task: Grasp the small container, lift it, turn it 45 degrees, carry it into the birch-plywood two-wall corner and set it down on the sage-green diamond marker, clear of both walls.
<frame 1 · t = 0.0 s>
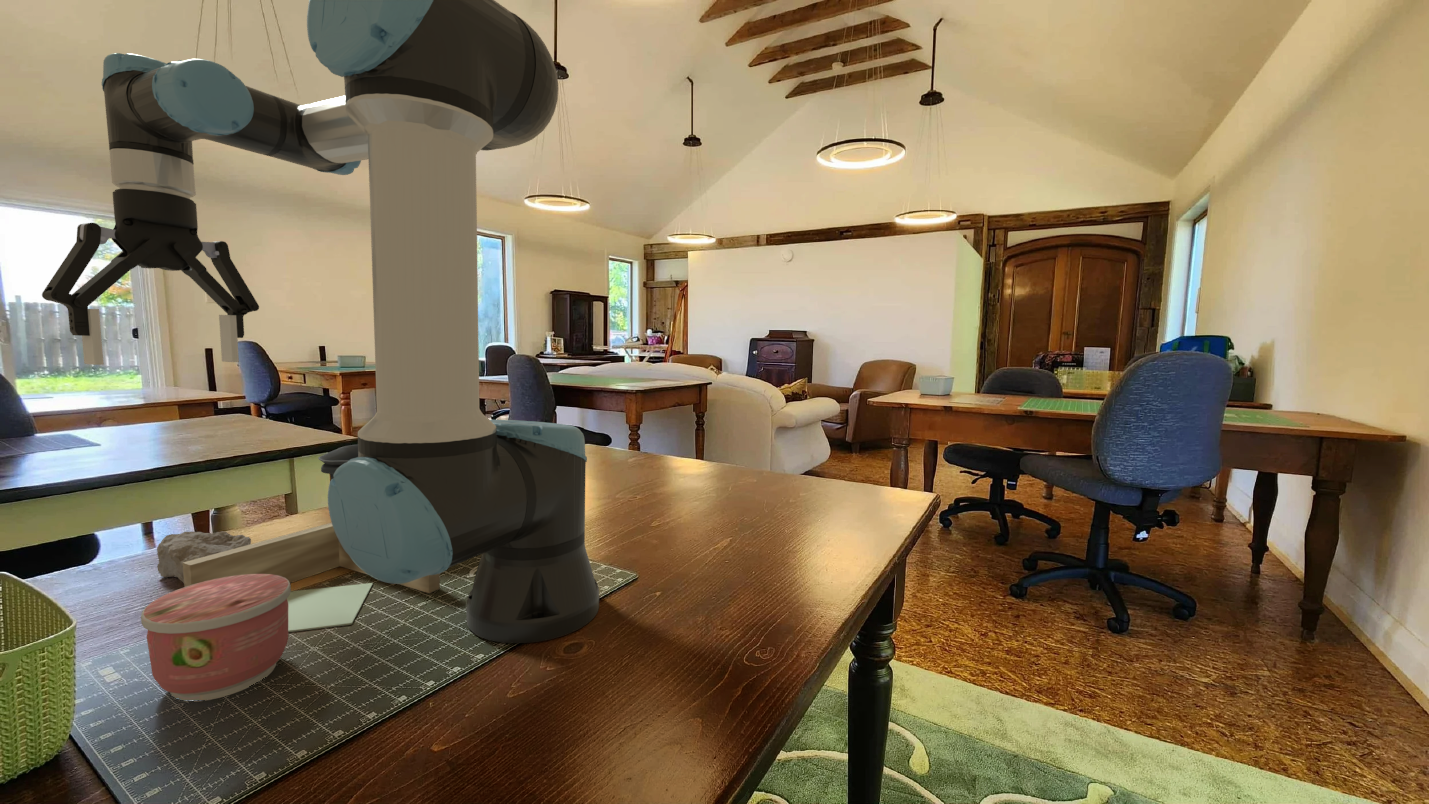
hand: (167, 363, 74), 28 cm above the table, fingers open, 13 cm apart
stone: (202, 578, 75), on the table
corner walls: (324, 601, 69), on the table
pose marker: (309, 608, 67), on the table
container: (225, 678, 54), on the table
storage bin: (408, 534, 93), on the table
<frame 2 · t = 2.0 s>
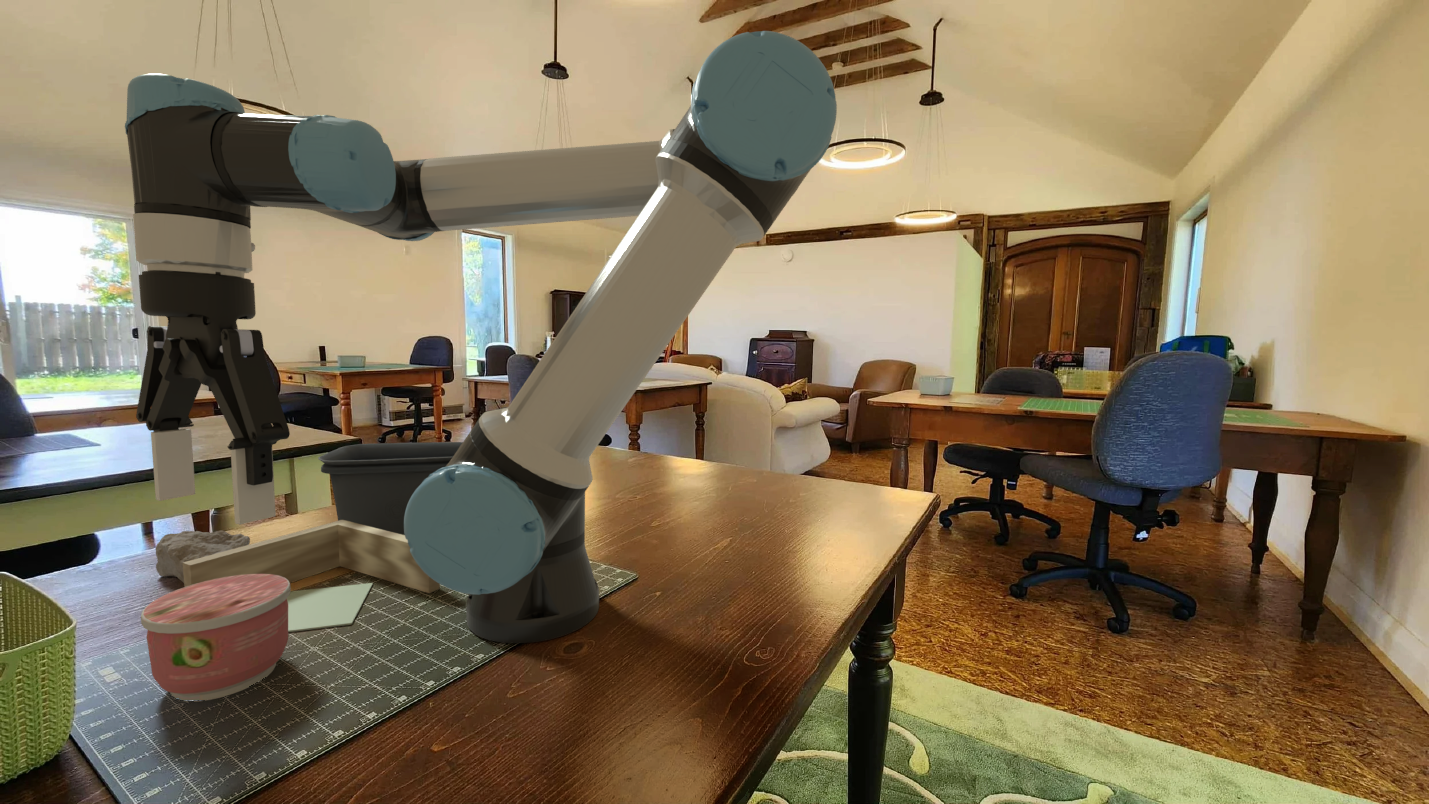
hand: (213, 508, 52), 16 cm above the table, fingers open, 13 cm apart
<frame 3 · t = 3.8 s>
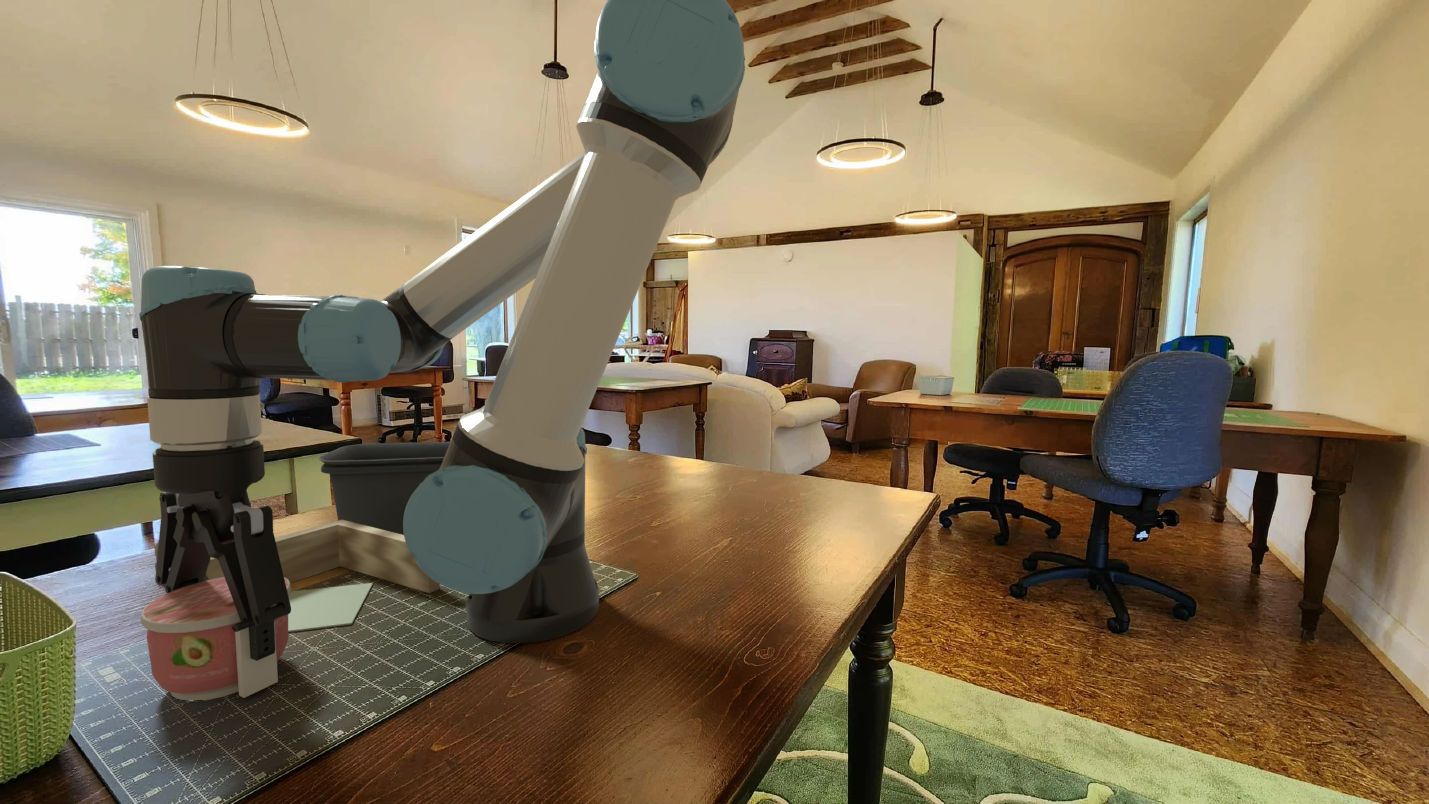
hand: (225, 671, 54), 0 cm above the table, fingers closed on container, 10 cm apart
container: (225, 677, 54), on the table, touching gripper
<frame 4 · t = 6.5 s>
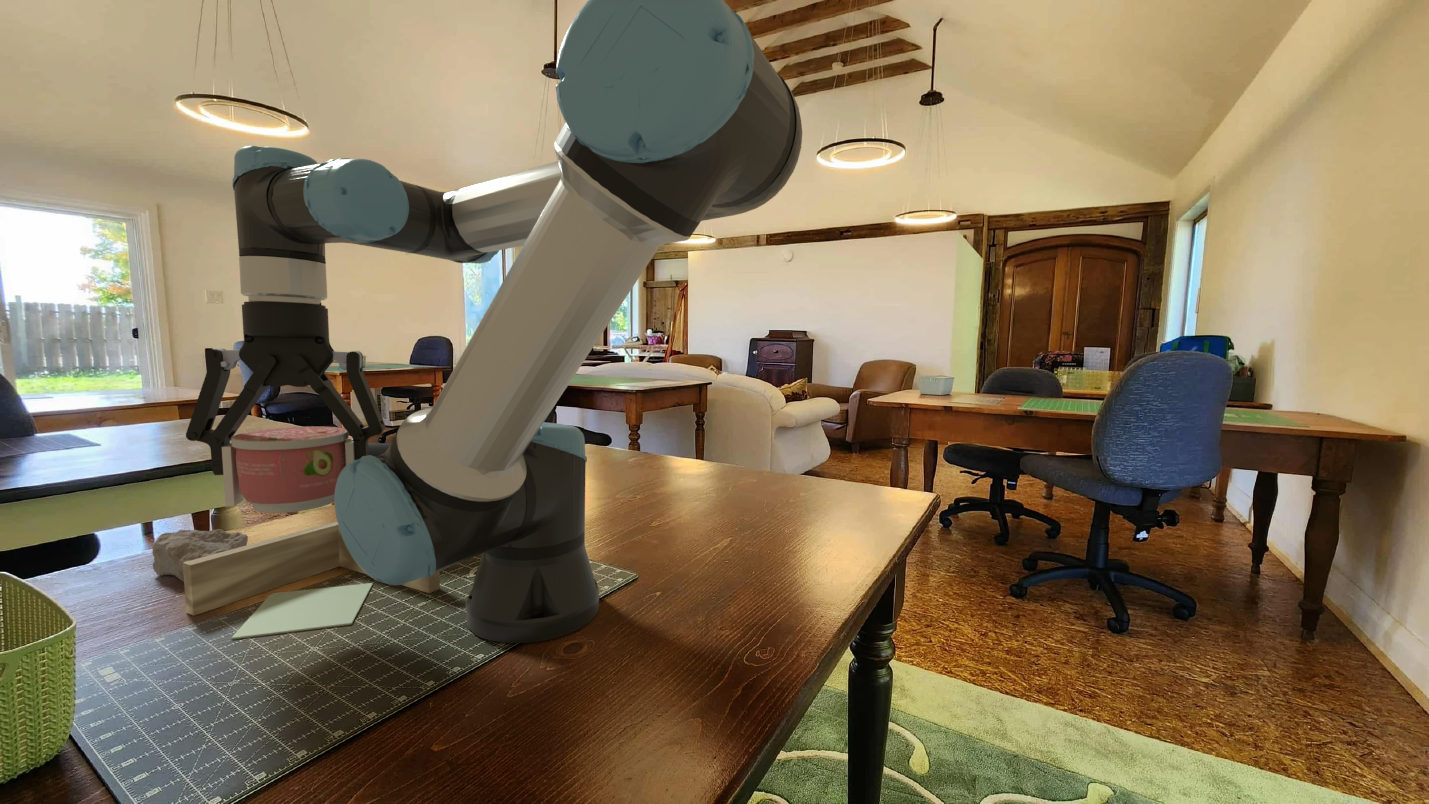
hand: (296, 499, 64), 14 cm above the table, fingers closed on container, 10 cm apart
container: (296, 504, 64), point 13 cm above the table, touching gripper
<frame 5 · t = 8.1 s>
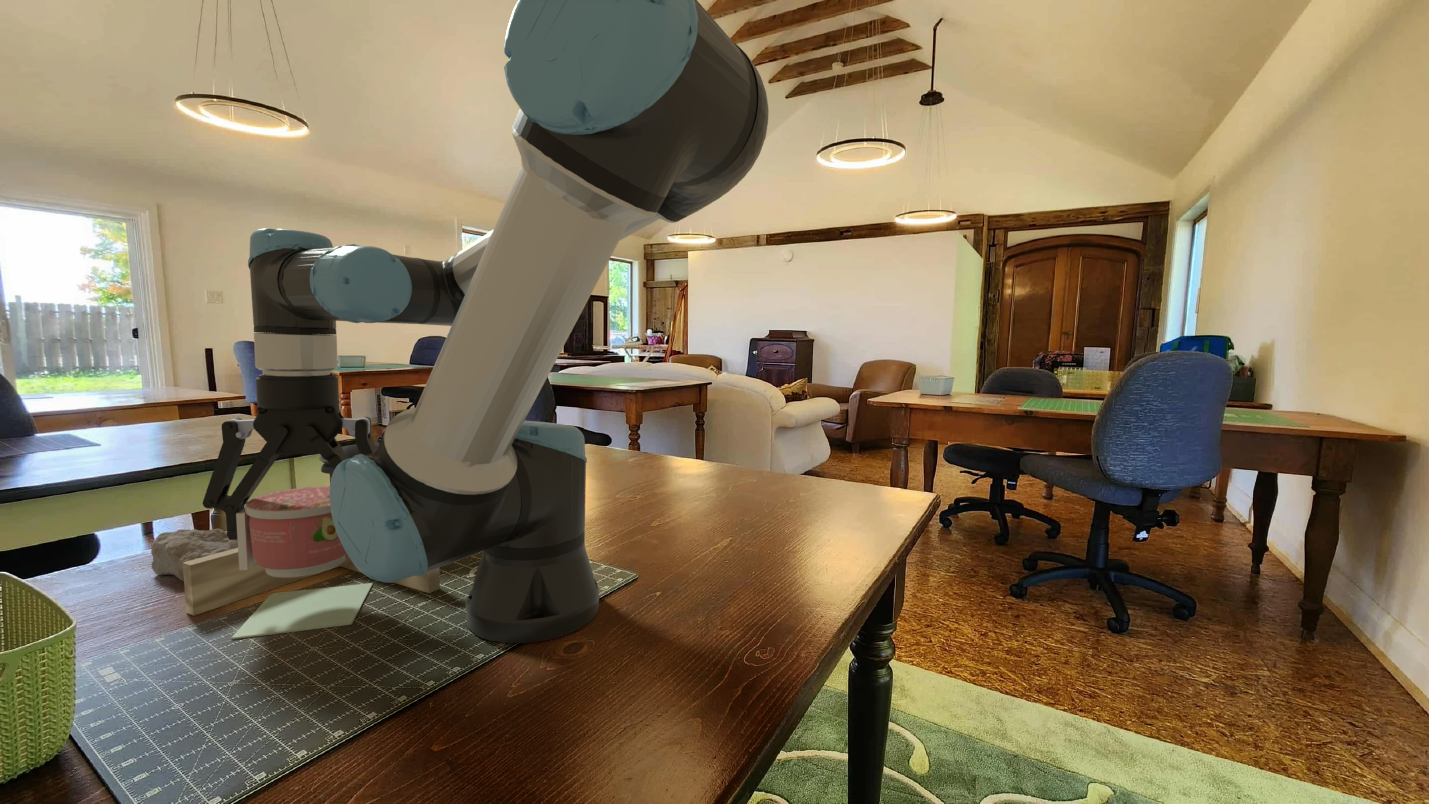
hand: (306, 560, 67), 6 cm above the table, fingers closed on container, 10 cm apart
container: (306, 565, 67), point 5 cm above the table, touching gripper
when the fingers open (2 cm above the table, at t = 9.5 s): container drops 1 cm, resting on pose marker.
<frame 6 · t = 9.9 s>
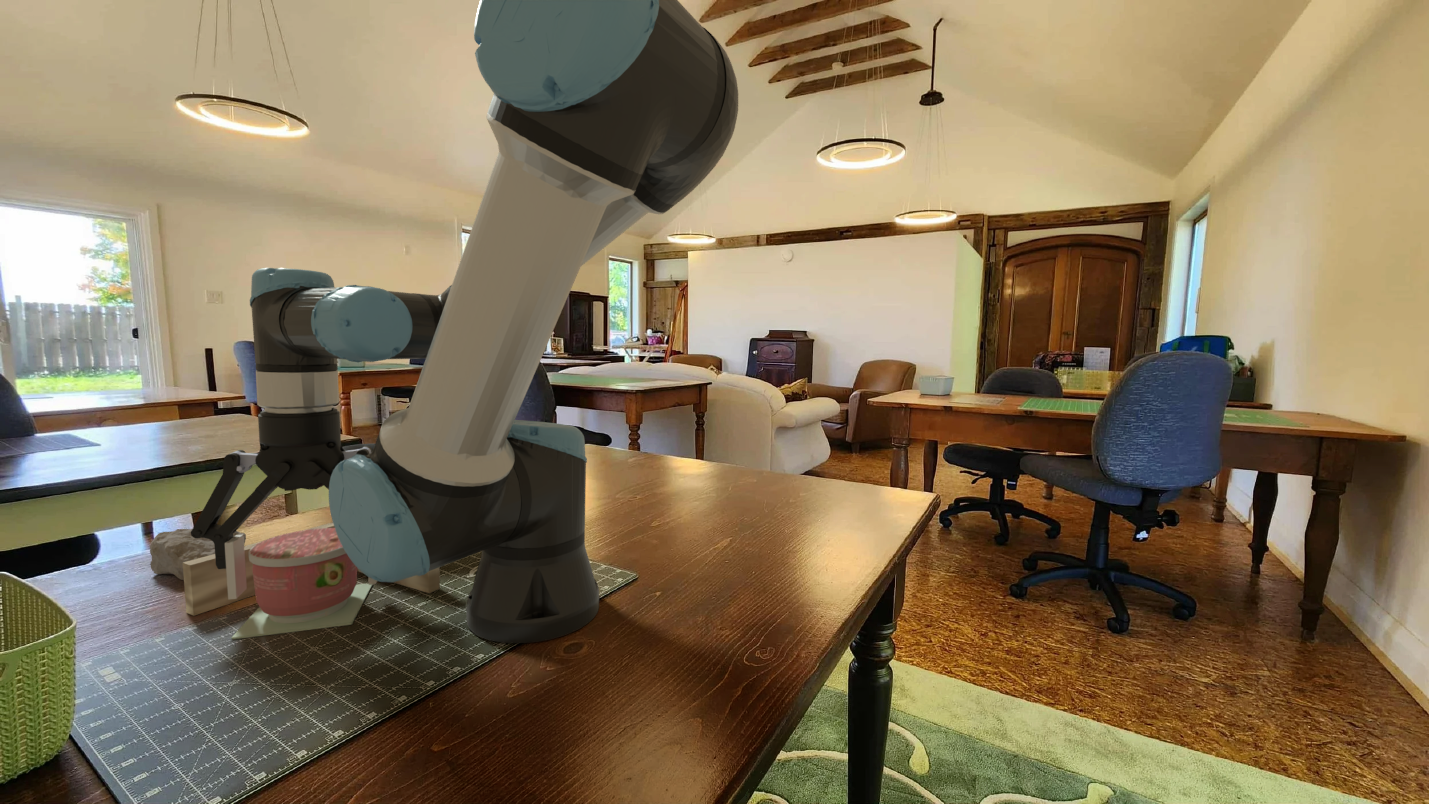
hand: (308, 587, 67), 3 cm above the table, fingers open, 13 cm apart
container: (309, 609, 67), resting on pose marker
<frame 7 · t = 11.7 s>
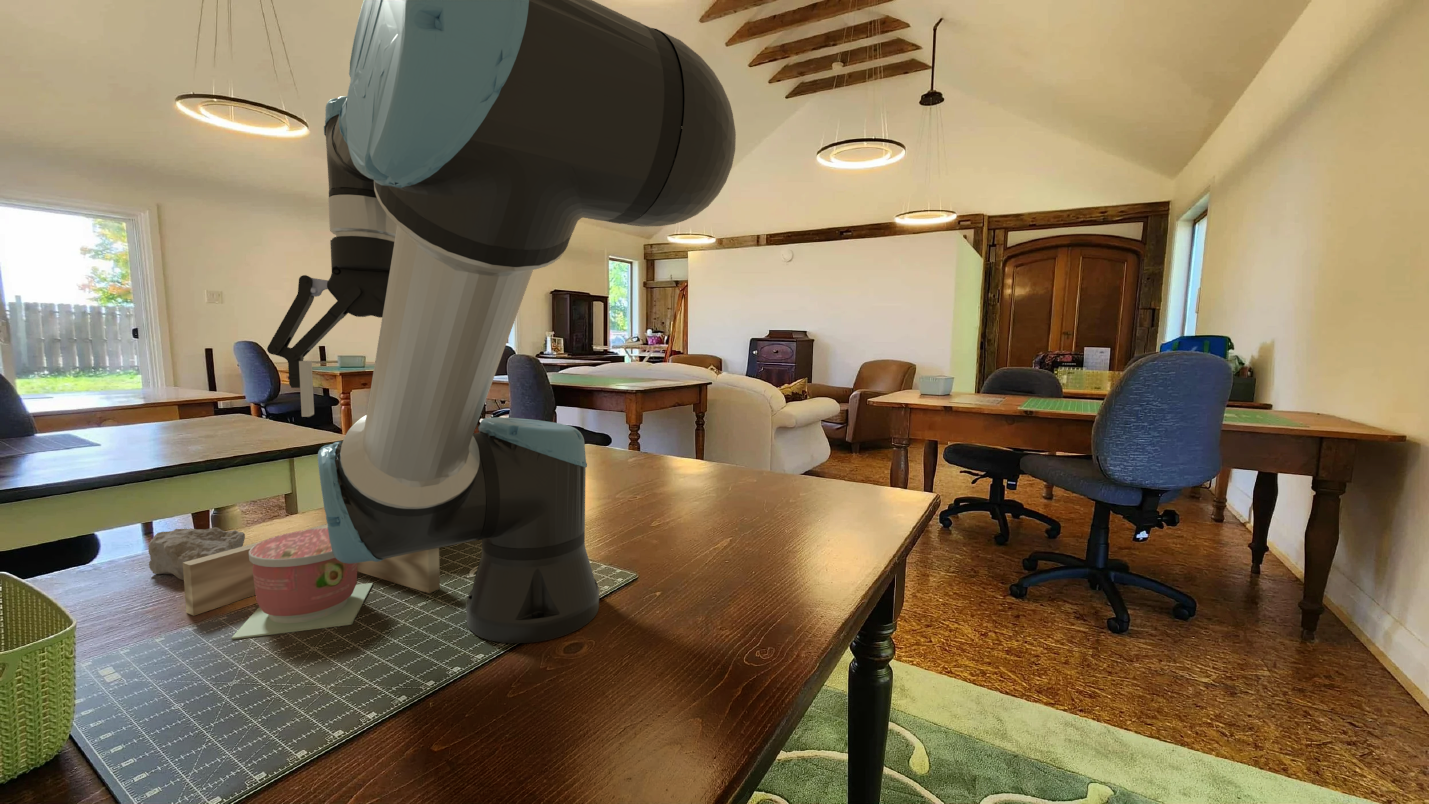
hand: (374, 414, 71), 23 cm above the table, fingers open, 13 cm apart
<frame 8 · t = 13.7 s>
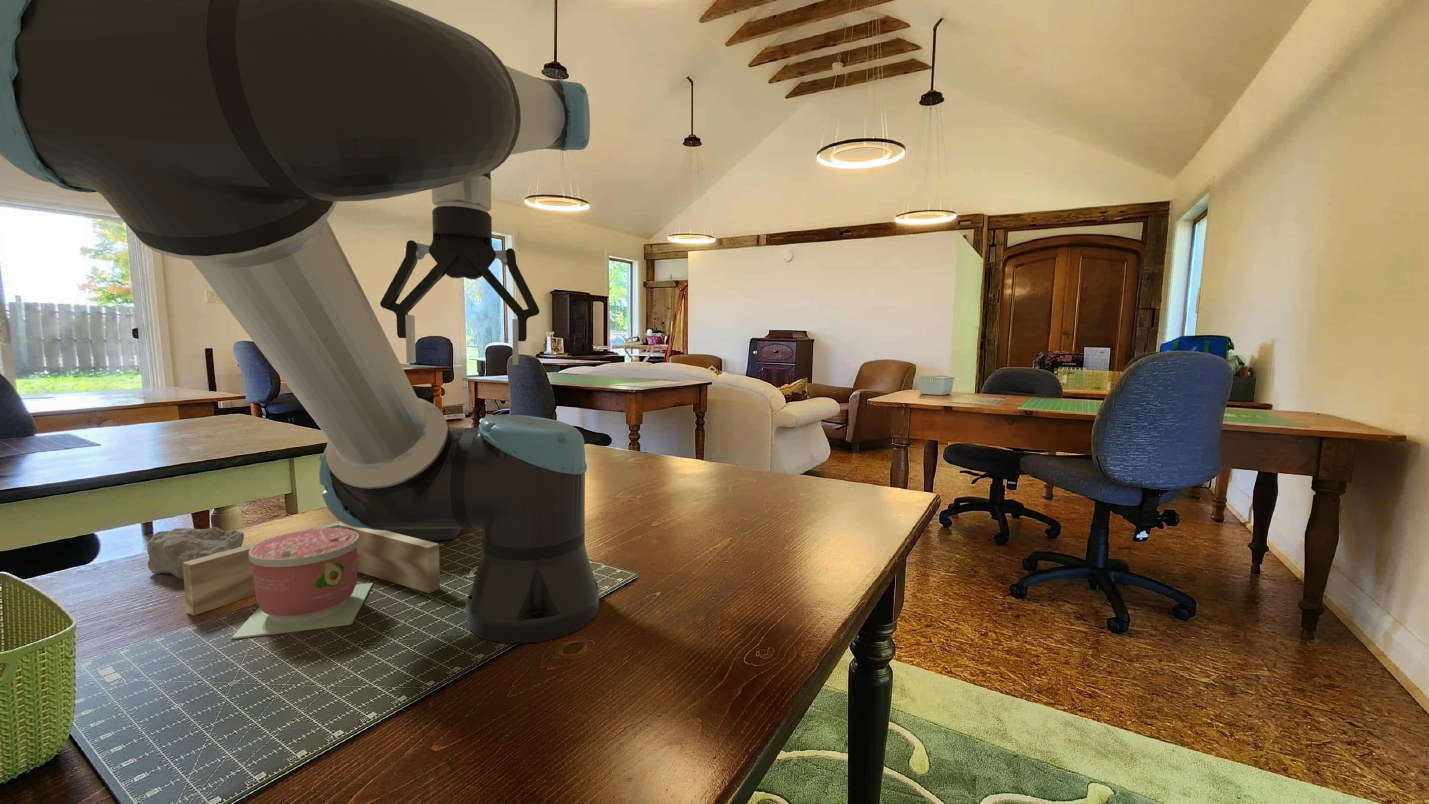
hand: (464, 363, 81), 29 cm above the table, fingers open, 13 cm apart
at the end: container 0.0 cm off-centre on the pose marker, point 0.0 cm above the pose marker's base; container touching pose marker; container tilted 0° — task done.
